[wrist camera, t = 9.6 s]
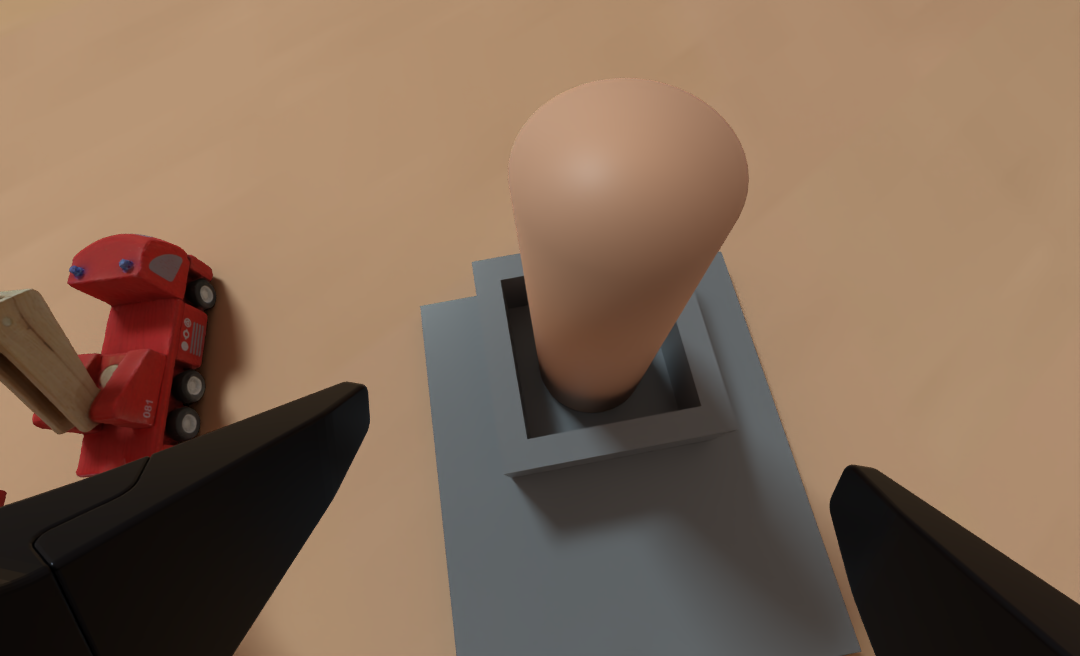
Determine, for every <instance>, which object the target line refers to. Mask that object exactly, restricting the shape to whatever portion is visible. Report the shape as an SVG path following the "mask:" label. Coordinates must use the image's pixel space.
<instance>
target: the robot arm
mask: <svg viewBox="0 0 1080 656" xmlns="http://www.w3.org/2000/svg"><path fill="white" fill-rule="evenodd" d="M369 424H370V413H369V398H368V390H367V387H366V386H365V385H363V384H358V383H352V382H342V383H340V384H337V385H334V386H332V387H329V388H326V389H324V390H321V391H318V392H316V393H313V394H310V395H308V396H305V397H302V398H300V399H297V400H294V401H292V402H289V403H287V404H284V405H281V406H279V407H276V408H273V409H271V410H268V411H265V412H263V413H260V414H257V415H255V416H252V417H249V418H247V419H244V420H241V421H239V422H236V423H233V424H231V425H228V426H225V427H223V428H220V429H217V430H215V431H212V432H209V433H207V434H204V435H202V436H199V437H196V438H194V439H191V440H188V441H186V442H183V443H180V444H178V445H175V446H172V447H170V448H167V449H164V450H162V451H159V452H156V453H154V454H152V455H151V457H149V456H145V457H143V458H140V459H137V460H135V461H132V462H130V463H127V464H124V465H122V466H119V467H116V468H113V469H111V470H108V471H105V472H102V473H100V474H97V475H94V476H91V477H89V478H86V479H83V480H80V481H77V482H74V483H71V484H68V485H65V486H62V487H59V488H56V489H53V490H50V491H47V492H44V493H41V494H39V495H36V496H33V497H30V498H26V499H23V500H20V501H17V502H14V503H11V504H8V505H5V506H2V507H0V656H232V655H233V654H234V652H235V651H236V649H237V648H238V646H239V645H240V643H241V642H242V640H243V638H244V637H245V635H246V634H247V632H248V631H249V629H250V628H251V626H252V624H253V623H254V621H255V620H256V618H257V617H258V615H259V614H260V612H261V610H262V609H263V607H264V606H265V604H266V603H267V601H268V600H269V598H270V597H271V595H272V593H273V592H274V590H275V589H276V587H277V586H278V584H279V583H280V581H281V579H282V578H283V576H284V575H285V573H286V572H287V570H288V569H289V567H290V566H291V564H292V562H293V561H294V559H295V558H296V556H297V555H298V553H299V552H300V550H301V548H302V547H303V545H304V544H305V542H306V541H307V539H308V538H309V536H310V534H311V533H312V531H313V530H314V528H315V527H316V525H317V524H318V522H319V521H320V519H321V517H322V516H323V514H324V513H325V511H326V510H327V508H328V506H329V505H330V503H331V502H332V500H333V498H334V497H335V495H336V493H337V491H338V489H339V487H340V485H341V483H342V481H343V479H344V477H345V475H346V473H347V471H348V469H349V467H350V465H351V463H352V461H353V459H354V457H355V455H356V453H357V451H358V449H359V447H360V445H361V443H362V441H363V439H364V437H365V435H366V433H367V431H368V428H369ZM830 514H831V517H832V521H833V525H834V529H835V532H836V536H837V540H838V544H839V547H840V551H841V555H842V559H843V562H844V566H845V570H846V574H847V577H848V581H849V584H850V588H851V591H852V594H853V597H854V600H855V603H856V605H857V608H858V611H859V614H860V616H861V619H862V622H863V624H864V627H865V629H866V632H867V635H868V637H869V640H870V642H871V645H872V648H873V650H874V653H875V655H876V656H1080V605H1079V604H1078V603H1076V602H1075V601H1073V600H1072V599H1070V598H1069V597H1067V596H1066V595H1064V594H1063V593H1061V592H1060V591H1058V590H1057V589H1055V588H1054V587H1052V586H1051V585H1049V584H1048V583H1046V582H1045V581H1043V580H1042V579H1040V578H1039V577H1037V576H1036V575H1034V574H1033V573H1031V572H1030V571H1028V570H1027V569H1025V568H1024V567H1022V566H1021V565H1019V564H1018V563H1016V562H1015V561H1013V560H1012V559H1010V558H1009V557H1007V556H1006V555H1004V554H1003V553H1001V552H1000V551H998V550H997V549H995V548H994V547H992V546H991V545H989V544H988V543H986V542H985V541H983V540H982V539H980V538H979V537H977V536H976V535H974V534H973V533H971V532H970V531H968V530H967V529H965V528H964V527H962V526H961V525H959V524H958V523H956V522H955V521H953V520H952V519H950V518H949V517H947V516H946V515H944V514H943V513H941V512H940V511H938V510H937V509H935V508H934V507H932V506H931V505H929V504H928V503H926V502H925V501H923V500H922V499H920V498H919V497H917V496H916V495H914V494H913V493H911V492H910V491H908V490H907V489H905V488H904V487H902V486H901V485H899V484H898V483H896V482H895V481H893V480H892V479H890V478H889V477H887V476H886V475H884V474H883V473H881V472H880V471H878V470H877V469H874V468H871V467H865V466H859V465H849V466H847V467H846V468H845V469H844V471H843V473H842V475H841V477H840V479H839V481H838V484H837V486H836V488H835V490H834V492H833V494H832V497H831V500H830Z"/></svg>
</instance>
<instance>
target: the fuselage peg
mask: <svg viewBox="0 0 1080 656" xmlns="http://www.w3.org/2000/svg"><path fill="white" fill-rule="evenodd" d="M748 182H749V176H748V165H747V161H746V157H745V153H744V150H743V148H742V145H741V143H740V141H739V139H738V137H737V136H736V134H735V132H734V131H733V129H732V128H731V127H730V125H729V124H728V123H727V122H726V120H725V119H724V118H723V117H722V116H721V115H720V114H719V113H718V112H717V111H716V110H715V109H713V108H712V107H711V106H709V105H708V104H707V103H706V102H704V101H703V100H701V99H699V98H698V97H696V96H694V95H693V94H691V93H689V92H686V91H684V90H682V89H680V88H677V87H674V86H671V85H668V84H666V83H661V82H657V81H653V80H646V79H639V78H612V79H604V80H598V81H592V82H589V83H585V84H582V85H579V86H576V87H573V88H571V89H568V90H566V91H564V92H562V93H560V94H559V95H557V96H555V97H553V98H552V99H550V100H549V101H548V102H546V103H545V104H543V105H542V106H541V107H540V108H539V109H538V110H536V111H535V112H534V113H533V114H532V116H531V117H530V118H529V119H528V120H527V121H526V122H525V124H524V125H523V127H522V128H521V130H520V131H519V133H518V135H517V137H516V139H515V141H514V144H513V147H512V150H511V153H510V157H509V164H508V183H509V189H510V195H511V201H512V207H513V213H514V219H515V225H516V231H517V237H518V243H519V249H520V255H521V261H522V267H523V273H524V279H525V285H526V291H527V297H528V303H529V309H530V315H531V321H532V327H533V333H534V339H535V345H536V351H537V357H538V363H539V368H540V374H541V377H542V380H543V382H544V384H545V386H546V388H547V389H548V391H549V392H550V393H551V395H552V396H553V397H554V398H555V399H556V400H558V401H559V402H560V403H562V404H563V405H565V406H567V407H569V408H571V409H573V410H576V411H580V412H586V413H598V412H604V411H607V410H610V409H613V408H615V407H617V406H619V405H620V404H622V403H623V402H624V401H626V400H627V399H628V398H629V397H630V396H631V395H632V393H633V392H634V390H635V389H636V387H637V386H638V384H639V382H640V381H641V379H642V377H643V376H644V374H645V372H646V371H647V369H648V367H649V366H650V364H651V362H652V361H653V359H654V357H655V356H656V354H657V352H658V351H659V349H660V347H661V346H662V344H663V342H664V341H665V339H666V337H667V336H668V334H669V332H670V331H671V329H672V328H673V326H674V324H675V323H676V321H677V319H678V318H679V316H680V314H681V313H682V311H683V309H684V308H685V306H686V304H687V303H688V301H689V299H690V298H691V296H692V294H693V293H694V291H695V289H696V288H697V286H698V284H699V283H700V281H701V279H702V278H703V276H704V274H705V273H706V271H707V269H708V268H709V266H710V264H711V263H712V261H713V259H714V258H715V256H716V254H717V253H718V251H719V249H720V248H721V246H722V244H723V243H724V241H725V240H726V238H727V236H728V235H729V233H730V231H731V230H732V228H733V226H734V225H735V223H736V221H737V220H738V218H739V216H740V214H741V211H742V209H743V207H744V204H745V200H746V196H747V193H748Z"/></svg>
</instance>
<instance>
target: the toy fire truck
mask: <svg viewBox="0 0 1080 656" xmlns="http://www.w3.org/2000/svg"><path fill="white" fill-rule="evenodd" d="M69 271H70V275H69V278H68V282H67V283H68V284H69V285H70V286H71V287H73V288H75V289H77V290H80V291H82V292H84V293H86V294H88V295H91V296H93V297H95V298H97V299H100V300H101V301H104V302H106V303H108V304H109V305H111V307H112V308H111V311H110V314H109V318H108V322H107V327H106V332H105V339H104V343H103V347H102V351H101V354H96V353H95V354H82V355H77V353H76V352H75V350H74V348H73V347H72V345H71V343H70V341H69V339H68V338H67V337H66V335H65V333H64V332H63V330H62V328H61V327H60V325H59V324H58V322H57V320H56V319H55V317H54V316H53V314H52V312H51V311H50V309H49V307H48V305H47V303H46V302H45V300H44V299H43V297H42V295H41V294H40V293H39V292H38V291H36V290H34V289H23V290H13V291H4V292H0V381H1V382H2V383H3V384H4V385H5V386H6V387H7V388H8V389H9V390H11V391H12V392H13V393H14V394H15V395H16V396H17V397H18V398H19V399H20V400H21V401H22V402H23V403H24V404H25V405H26V406H27V407H28V408H30V409H31V410H32V411H33V412H34V414H33V418H32V420H33V424H34V425H35V426H37V427H39V428H42V429H50V430H53V431H54V432H55V433H57V434H63V433H66V432H73V433H79V434H83V435H84V438H83V441H82V448H81V455H80V459H79V464H78V469H77V471H76V474H77V476H79V477H91V476H94V475H97V474H100V473H102V472H105V471H108V470H111V469H113V468H116V467H119V466H122V465H124V464H127V463H130V462H132V461H135V460H137V459H140V458H143V457H145V456H149V457H151V455H152V454H154V453H156V452H159V451H162V450H164V449H167V448H170V447H172V446H175V445H178V442H183V441H186V440H190V439H192V438H194V437H195V436H196V435H197V433H198V431H199V429H200V418H199V415H198V414H197V412H196V411H195V410H194V409H191V408H189V407H187V406H184V407H183V402H185V403H187V404H188V403H191V402H196V401H198V400H199V399H200V398H201V397H202V396H203V394H204V391H205V381H204V378H203V377H202V376H201V375H200V374H199V373H198V372H197V371H195V369H196V368H199V367H200V366H201V363H202V356H203V349H204V343H205V335H206V325H207V314H206V313H204V312H203V311H204V310H205V309H208V308H211V307H212V306H213V305H214V304H215V301H216V292H215V290H214V287H213V286H212V285H211V284H210V283H209V282H210V281H211V280H212V277H213V274H212V269H211V268H210V267H209V266H207V265H206V264H205V263H203V262H202V261H200V260H198V259H197V258H196V257H194V256H192V255H188V254H187V253H186V252H185V251H184V250H183V249H182V248H180V247H179V246H176V245H174V244H171V243H169V242H166V241H164V240H161V239H157V238H154V237H150V236H145V235H138V234H118V235H113V236H109V237H105V238H102V239H100V240H98V241H96V242H94V243H92V244H91V245H89V246H87V247H86V248H84V249H83V250H81V251H80V252H79V253H78V254H77V255H76V256H75V257H74V259H73V263H72V266H71V268H70V269H69ZM6 494H7V492H5V491H3V490H0V507H2V506H3V505H4V502H5V498H6V497H5V496H6Z"/></svg>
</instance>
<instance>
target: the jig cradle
mask: <svg viewBox="0 0 1080 656" xmlns="http://www.w3.org/2000/svg"><path fill="white" fill-rule="evenodd" d="M472 267H473V274H474V281H475V288H476V294H477V296H474V297H468V298H463V299H457V300H452V301H446V302H441V303H435V304H430V305H424V306H420V308H421V317H422V327H423V337H424V346H425V356H426V366H427V375H428V385H429V394H430V404H431V414H432V423H433V433H434V443H435V452H436V462H437V472H438V481H439V491H440V500H441V510H442V520H443V529H444V539H445V549H446V558H447V568H448V578H449V587H450V597H451V606H452V616H453V626H454V635H455V645H456V655H457V656H842V655H847V654H852V653H857V652H861V649H860V646H859V643H858V640H857V637H856V634H855V632H854V629H853V626H852V623H851V620H850V617H849V615H848V612H847V609H846V606H845V603H844V600H843V597H842V595H841V592H840V589H839V586H838V583H837V580H836V578H835V575H834V572H833V569H832V566H831V563H830V560H829V558H828V555H827V552H826V549H825V546H824V543H823V541H822V538H821V535H820V532H819V529H818V526H817V523H816V521H815V518H814V515H813V512H812V509H811V506H810V504H809V501H808V498H807V495H806V492H805V489H804V486H803V484H802V481H801V478H800V475H799V472H798V469H797V467H796V464H795V461H794V458H793V455H792V452H791V449H790V447H789V444H788V441H787V438H786V435H785V432H784V430H783V427H782V424H781V421H780V418H779V415H778V412H777V410H776V407H775V404H774V401H773V398H772V395H771V392H770V390H769V387H768V384H767V381H766V378H765V375H764V373H763V370H762V367H761V364H760V361H759V358H758V355H757V353H756V350H755V347H754V344H753V341H752V338H751V336H750V333H749V330H748V327H747V324H746V321H745V318H744V316H743V313H742V310H741V307H740V304H739V301H738V299H737V296H736V293H735V290H734V287H733V284H732V281H731V279H730V276H729V273H728V270H727V267H726V264H725V262H724V259H723V256H722V253H721V252H718V253H717V254H716V256H715V258H714V259H713V261H712V263H711V264H710V266H709V268H708V269H707V271H706V273H705V274H704V276H703V278H702V279H701V281H700V283H699V284H698V286H697V288H696V289H695V291H694V293H693V294H692V296H691V298H690V299H689V301H688V303H687V304H686V306H685V308H684V309H683V311H682V313H681V314H680V316H679V318H678V319H677V321H676V323H675V324H674V326H673V328H672V329H671V331H670V332H669V334H668V336H667V337H666V339H665V341H664V342H663V344H662V346H661V347H660V349H659V351H658V352H657V354H656V356H655V357H654V359H653V361H652V362H651V364H650V366H649V367H648V369H647V371H646V372H645V374H644V376H643V377H642V379H641V381H640V382H639V384H638V386H637V387H636V389H635V390H634V392H633V393H632V395H631V396H630V397H629V398H628V399H627V400H626V401H624V402H623V403H622V404H620V405H619V406H617V407H615V408H613V409H610V410H607V411H604V412H598V413H586V412H580V411H576V410H573V409H571V408H569V407H567V406H565V405H563V404H562V403H560V402H559V401H558V400H556V399H555V398H554V397H553V396H552V395H551V393H550V392H549V391H548V389H547V388H546V386H545V384H544V382H543V380H542V377H541V374H540V368H539V363H538V357H537V351H536V345H535V339H534V333H533V327H532V321H531V315H530V309H529V303H528V297H527V291H526V285H525V279H524V273H523V267H522V261H521V255H520V254H514V255H508V256H503V257H497V258H492V259H486V260H481V261H475V262H472Z"/></svg>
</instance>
